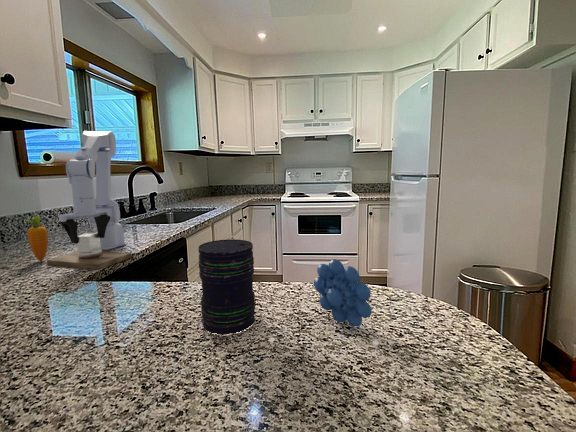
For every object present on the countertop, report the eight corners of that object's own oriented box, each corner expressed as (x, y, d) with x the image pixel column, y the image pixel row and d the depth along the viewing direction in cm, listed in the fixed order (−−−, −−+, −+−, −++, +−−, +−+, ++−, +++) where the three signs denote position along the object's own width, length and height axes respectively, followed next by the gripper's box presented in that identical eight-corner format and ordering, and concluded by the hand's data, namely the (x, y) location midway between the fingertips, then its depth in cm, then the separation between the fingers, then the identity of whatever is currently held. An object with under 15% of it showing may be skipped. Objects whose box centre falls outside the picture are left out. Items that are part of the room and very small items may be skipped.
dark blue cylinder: (201, 340, 50) (196, 254, 48) (202, 314, 60) (197, 241, 58) (259, 331, 53) (257, 249, 51) (251, 307, 62) (249, 237, 60)
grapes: (301, 323, 56) (301, 260, 54) (320, 309, 61) (321, 252, 59) (360, 344, 49) (362, 273, 47) (376, 326, 54) (378, 263, 52)
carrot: (42, 263, 95) (36, 216, 93) (27, 263, 95) (20, 217, 93) (54, 258, 100) (49, 214, 98) (40, 259, 100) (34, 214, 98)
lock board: (85, 253, 106) (84, 249, 106) (131, 257, 101) (131, 252, 101) (47, 264, 94) (46, 259, 93) (98, 269, 88) (97, 263, 88)
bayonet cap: (73, 259, 93) (71, 236, 92) (85, 253, 100) (82, 232, 99) (96, 258, 94) (93, 235, 93) (105, 252, 101) (103, 231, 100)
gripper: (66, 200, 86) (72, 246, 88) (114, 196, 99) (117, 236, 101) (52, 200, 89) (58, 244, 91) (100, 196, 102) (104, 235, 104)
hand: (88, 240), depth 96 cm, fingers open, 7 cm apart
